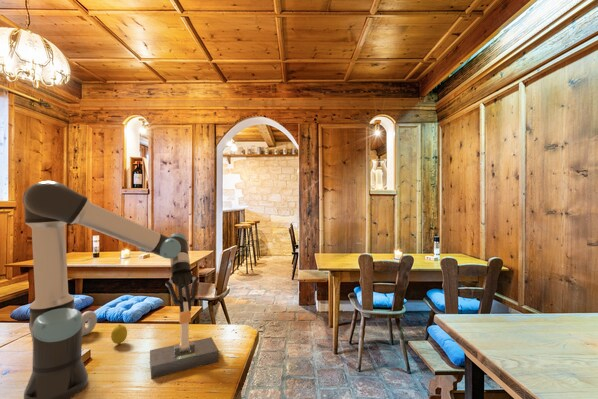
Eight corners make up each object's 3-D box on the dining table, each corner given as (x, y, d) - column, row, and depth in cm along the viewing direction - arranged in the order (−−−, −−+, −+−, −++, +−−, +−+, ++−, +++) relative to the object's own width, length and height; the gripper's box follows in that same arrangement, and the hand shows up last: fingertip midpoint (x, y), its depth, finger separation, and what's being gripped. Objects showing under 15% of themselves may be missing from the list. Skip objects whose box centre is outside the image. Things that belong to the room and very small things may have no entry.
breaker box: (151, 378, 96) (151, 360, 96) (149, 361, 106) (150, 344, 106) (218, 361, 107) (218, 345, 107) (211, 347, 117) (211, 332, 117)
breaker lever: (179, 352, 105) (180, 315, 104) (178, 348, 107) (179, 312, 106) (190, 350, 106) (190, 313, 106) (189, 346, 109) (189, 310, 108)
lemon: (130, 341, 121) (130, 322, 121) (120, 348, 116) (120, 327, 116) (117, 340, 122) (117, 321, 122) (107, 347, 116) (107, 327, 116)
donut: (80, 340, 122) (80, 316, 122) (72, 339, 122) (73, 315, 122) (98, 329, 132) (99, 307, 132) (91, 329, 132) (92, 307, 132)
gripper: (195, 269, 129) (203, 320, 114) (162, 272, 122) (166, 327, 108) (198, 259, 124) (206, 311, 110) (164, 262, 118) (168, 318, 103)
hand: (186, 319), depth 109 cm, fingers closed
